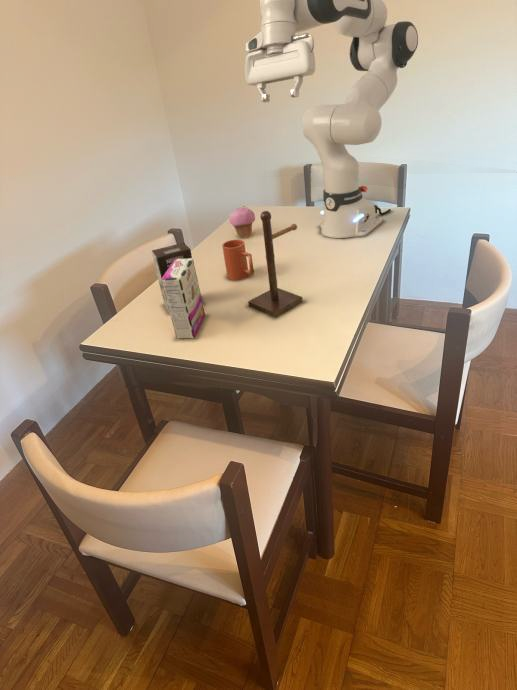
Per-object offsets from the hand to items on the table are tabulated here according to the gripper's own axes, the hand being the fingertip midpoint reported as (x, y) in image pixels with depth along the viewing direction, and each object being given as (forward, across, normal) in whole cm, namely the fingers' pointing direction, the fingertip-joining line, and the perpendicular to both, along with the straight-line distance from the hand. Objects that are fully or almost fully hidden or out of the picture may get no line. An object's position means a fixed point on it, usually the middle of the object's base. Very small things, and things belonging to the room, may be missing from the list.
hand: (280, 99), depth 129 cm
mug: (+47, +9, +8) cm, 49 cm away
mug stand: (+51, -9, +16) cm, 54 cm away
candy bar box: (+55, +4, +36) cm, 66 cm away
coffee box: (+52, +15, +28) cm, 61 cm away
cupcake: (+38, +29, -18) cm, 51 cm away
